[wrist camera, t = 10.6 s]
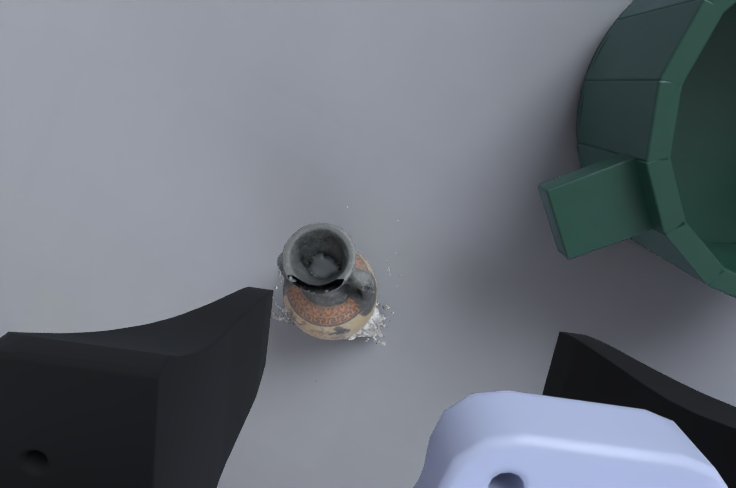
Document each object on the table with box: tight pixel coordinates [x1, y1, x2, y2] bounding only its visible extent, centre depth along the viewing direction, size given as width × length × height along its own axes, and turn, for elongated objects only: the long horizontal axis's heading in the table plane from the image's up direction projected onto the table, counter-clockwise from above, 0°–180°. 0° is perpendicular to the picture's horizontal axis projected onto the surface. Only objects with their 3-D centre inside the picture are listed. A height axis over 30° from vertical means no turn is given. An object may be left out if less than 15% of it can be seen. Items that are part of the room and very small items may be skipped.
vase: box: [271, 206, 400, 382], centre depth 20 cm, size 5×5×6 cm
